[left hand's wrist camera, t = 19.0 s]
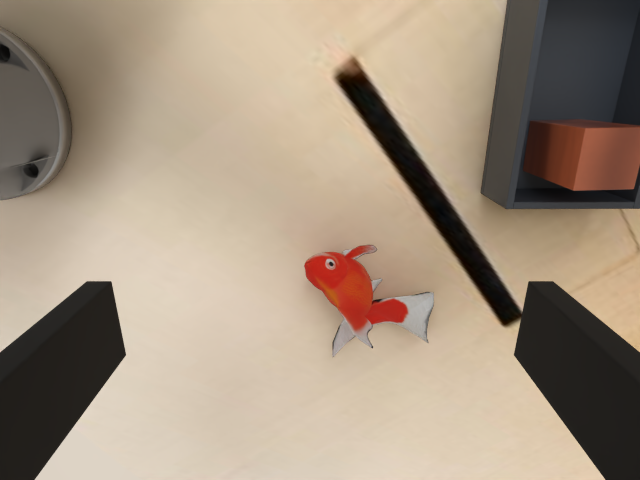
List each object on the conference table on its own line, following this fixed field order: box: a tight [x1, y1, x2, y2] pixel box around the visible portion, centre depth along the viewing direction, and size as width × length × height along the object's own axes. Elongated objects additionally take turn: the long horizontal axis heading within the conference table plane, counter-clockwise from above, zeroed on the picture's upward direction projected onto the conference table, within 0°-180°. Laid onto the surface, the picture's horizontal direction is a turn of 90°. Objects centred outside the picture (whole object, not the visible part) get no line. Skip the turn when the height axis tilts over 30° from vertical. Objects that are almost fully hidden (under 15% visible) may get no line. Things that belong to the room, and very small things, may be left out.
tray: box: [481, 0, 640, 209], centre depth 32 cm, size 11×25×6 cm, turn 0°
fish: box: [304, 245, 434, 357], centre depth 38 cm, size 11×16×10 cm
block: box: [523, 119, 640, 191], centre depth 33 cm, size 4×4×8 cm
